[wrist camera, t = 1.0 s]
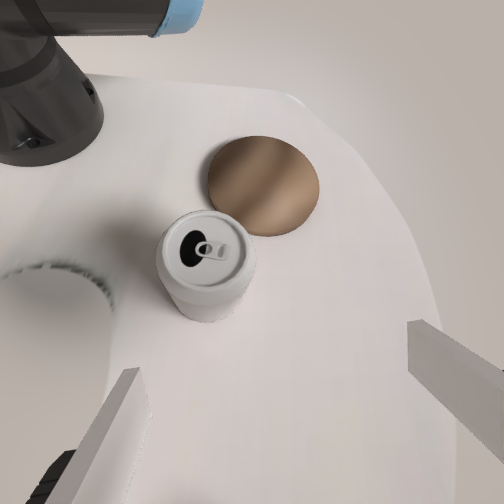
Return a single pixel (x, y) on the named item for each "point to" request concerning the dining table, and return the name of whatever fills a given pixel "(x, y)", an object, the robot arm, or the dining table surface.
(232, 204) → the walnut coaster
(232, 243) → the can
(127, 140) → the dining table surface
